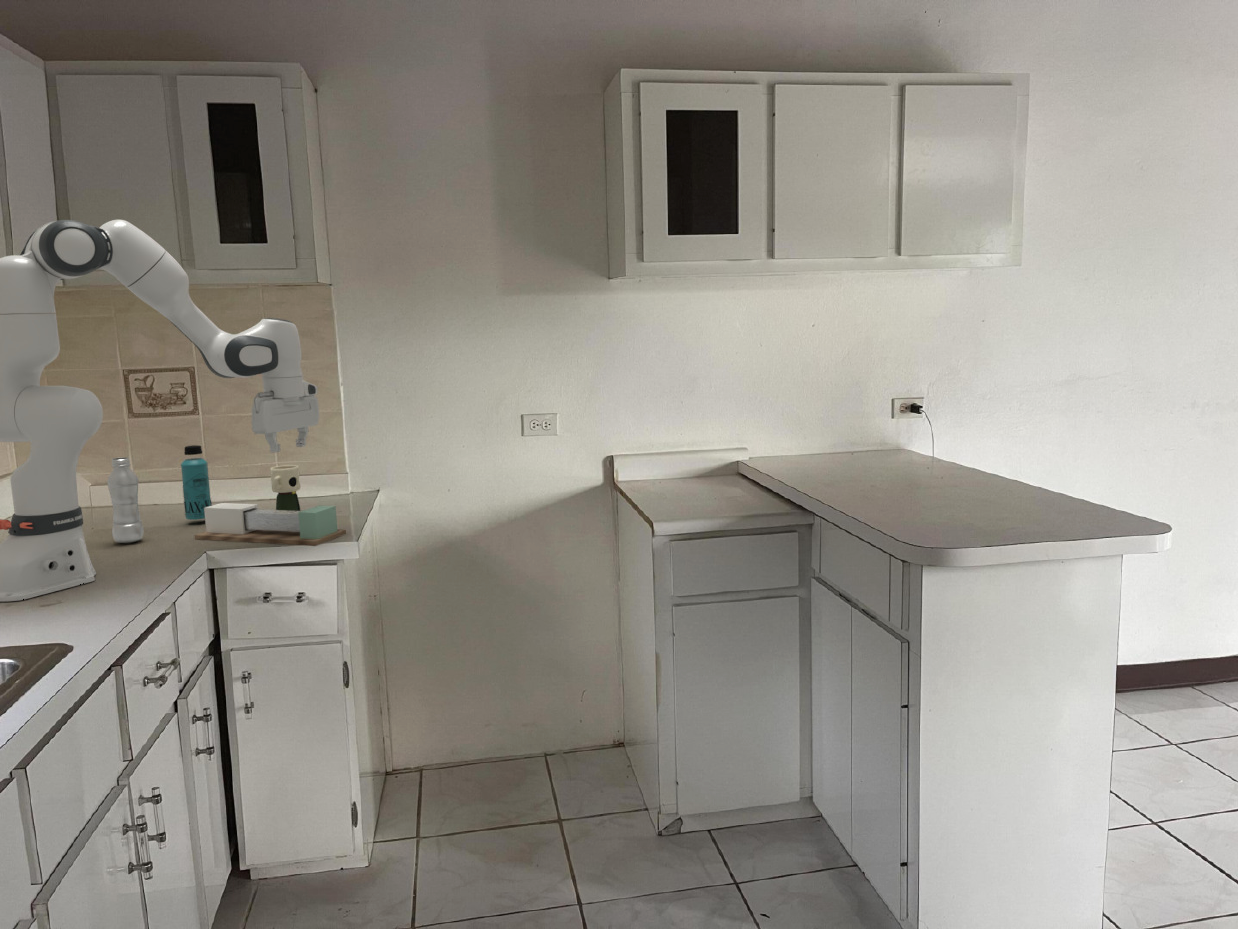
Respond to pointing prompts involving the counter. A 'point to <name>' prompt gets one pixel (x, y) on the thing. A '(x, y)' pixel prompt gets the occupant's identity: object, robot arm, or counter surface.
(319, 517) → the socket
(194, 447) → the beverage bottle
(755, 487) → the counter surface
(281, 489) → the character mug
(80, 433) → the robot arm
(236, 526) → the sleeve
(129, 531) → the plastic bottle
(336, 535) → the baseboard
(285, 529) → the rectangular peg
